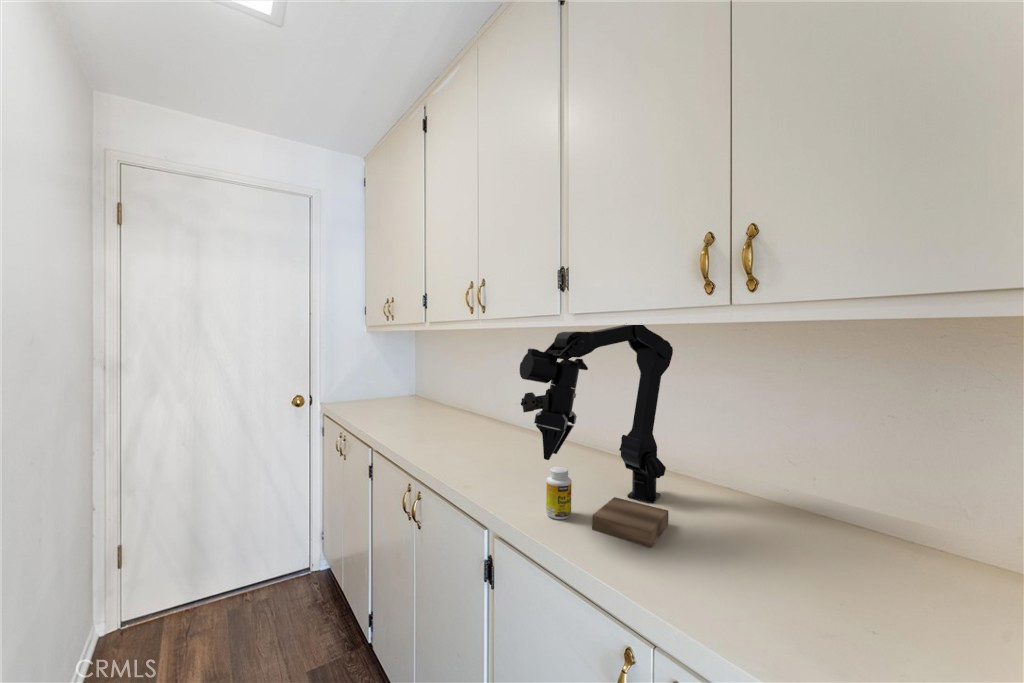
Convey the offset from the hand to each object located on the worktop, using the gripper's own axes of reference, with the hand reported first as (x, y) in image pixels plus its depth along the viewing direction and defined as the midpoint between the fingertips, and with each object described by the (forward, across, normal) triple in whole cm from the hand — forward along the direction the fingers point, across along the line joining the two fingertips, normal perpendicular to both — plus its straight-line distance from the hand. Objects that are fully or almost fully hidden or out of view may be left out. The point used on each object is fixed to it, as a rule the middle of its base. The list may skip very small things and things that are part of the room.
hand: (550, 456), depth 90 cm
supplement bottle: (+13, -3, +4) cm, 14 cm away
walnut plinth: (+11, -2, +19) cm, 22 cm away
